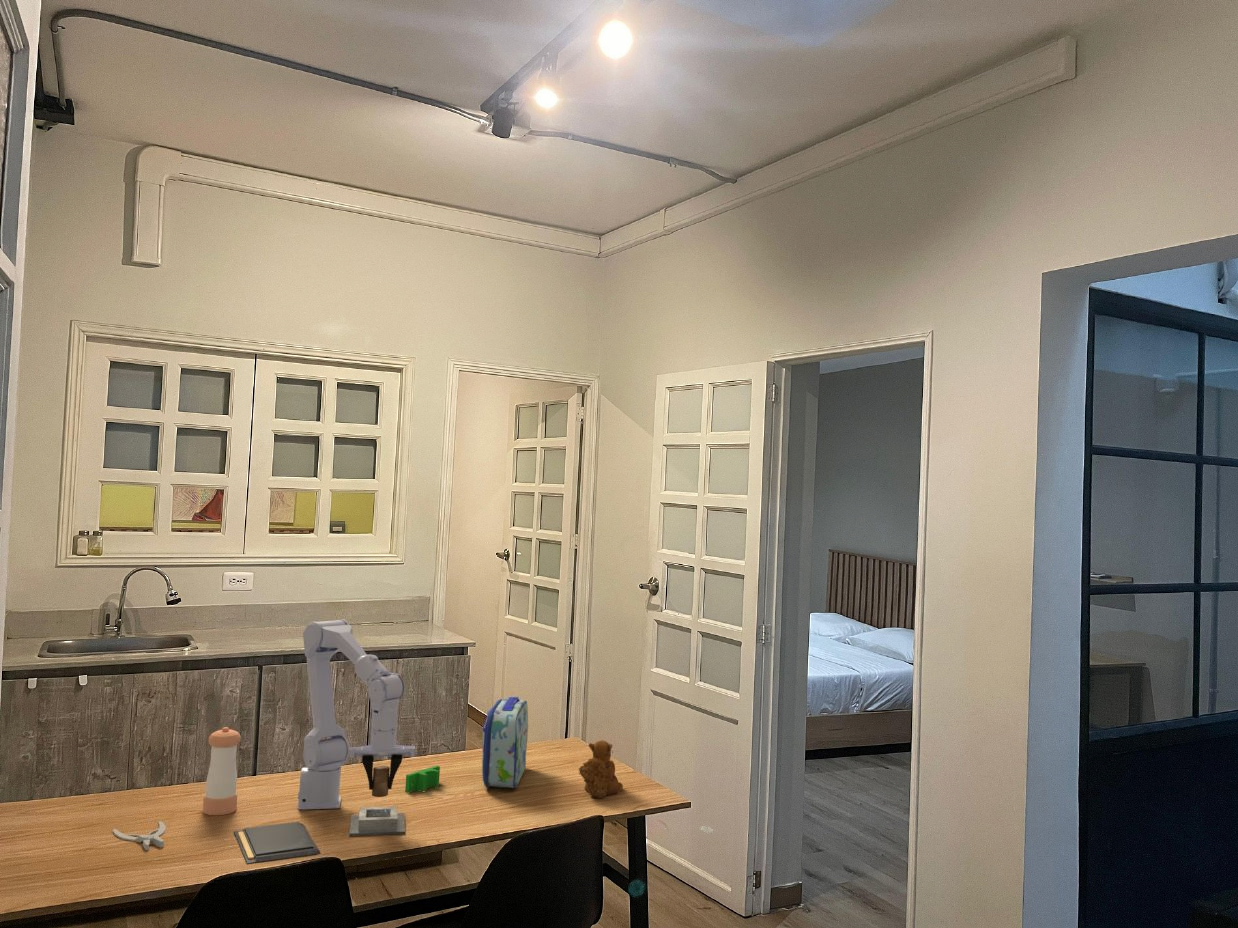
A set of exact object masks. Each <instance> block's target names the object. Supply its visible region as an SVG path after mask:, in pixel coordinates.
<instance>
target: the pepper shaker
mask: <svg viewBox="0 0 1238 928" xmlns="http://www.w3.org/2000/svg"><path fill="white" fill-rule="evenodd" d="M241 739H242V736H241V734H240V733H239V732H238V731H236V730H234V729H230V728H229V727H228V726H224V727H222V728H221V729H219V730H216V731H214V732H212V733H211V734H210V736H209V737H208V744H209V745H210V746H211V750H210V760H209V761H210V763H209V768H208V772H207V776H206V777H207V778H206V782H205V794H204V795H203V799H202V800H203V803H202V813H203V814H205V815H209V816H222V815H228V814H232V813H234V812H235V811H236V810H237V806H238V793H237V783H238V773H237V749H238V745H239V744H240V741H241Z"/></svg>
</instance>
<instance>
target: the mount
mask: <svg viewBox="0 0 1238 928" xmlns="http://www.w3.org/2000/svg"><path fill="white" fill-rule="evenodd" d="M405 820H406V819H405V813H404V812H402V813H401V812H400V813H398V806H372V807H369V806H368V807H359V814H351V817H350V824H349V833H348V836H349V837H362V836H363V837H364V836H365V837H366V836H367V837H370V836H391V835H392V836H394V835H405V834H406V826H405V824H406V821H405Z"/></svg>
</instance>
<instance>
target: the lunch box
mask: <svg viewBox="0 0 1238 928" xmlns="http://www.w3.org/2000/svg"><path fill="white" fill-rule="evenodd" d="M486 713H487V714H486V720H485V723H484V724H483V727H482V759H481V764H482V767H481V770H482V772H481V773H482V782H483V786H485V787H489V786H490V787H495V788H511V789H515V788H518V785H519V783H520V781H521V779H522V776H523V774H524V772H525V770H526V766H527V747H528V735H529V734H528V733H529V707H528V701H526V700H524V699H520V698H519V696H509V697H508V698H507V699H506V698H504V699H502V698H499V699H498V700H496V702H495V703H494V705H493V706H492V707H491V708H490V709H489V710H488V711H487V712H486Z"/></svg>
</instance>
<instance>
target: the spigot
mask: <svg viewBox="0 0 1238 928" xmlns="http://www.w3.org/2000/svg"><path fill="white" fill-rule="evenodd" d="M389 775H390V766H387V765H377V766H373V787H372V790H371V796H372V797H376V798H383V797H387V796H388V795H389V789H388V785H389Z"/></svg>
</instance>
